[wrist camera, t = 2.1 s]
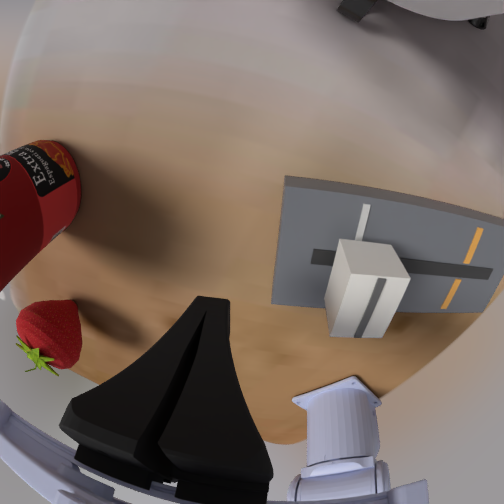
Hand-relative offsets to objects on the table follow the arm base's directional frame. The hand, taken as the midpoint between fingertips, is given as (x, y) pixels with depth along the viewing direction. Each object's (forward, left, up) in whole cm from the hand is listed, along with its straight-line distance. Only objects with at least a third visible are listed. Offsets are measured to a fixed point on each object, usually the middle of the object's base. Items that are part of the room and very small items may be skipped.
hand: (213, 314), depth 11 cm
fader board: (-8, -9, -8) cm, 14 cm away
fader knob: (-5, -5, -5) cm, 9 cm away
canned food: (+13, +9, -8) cm, 18 cm away
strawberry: (+5, +19, -8) cm, 21 cm away
